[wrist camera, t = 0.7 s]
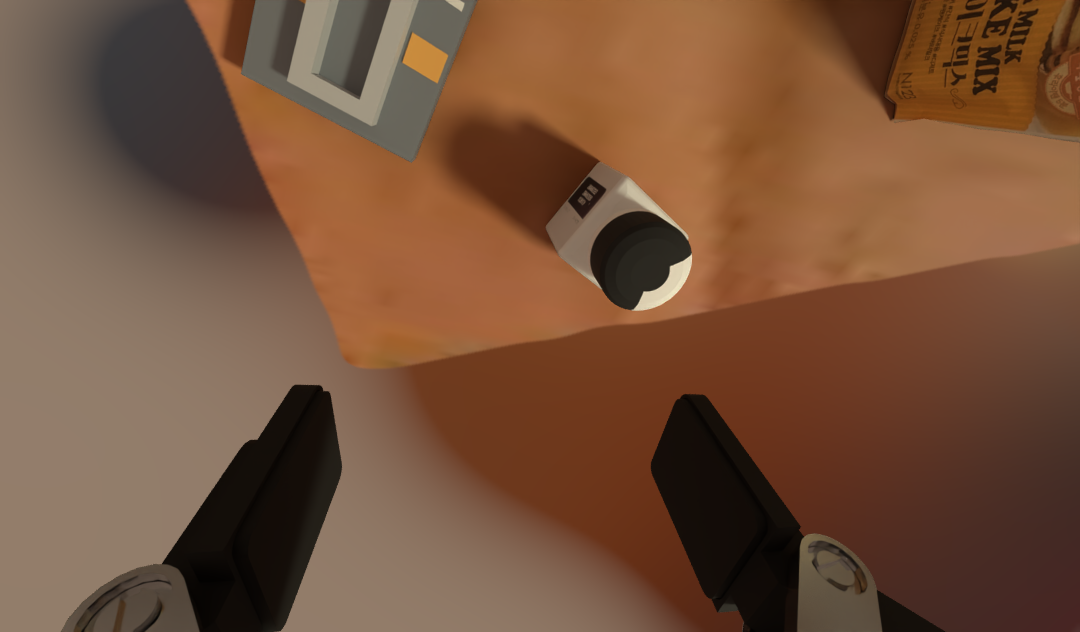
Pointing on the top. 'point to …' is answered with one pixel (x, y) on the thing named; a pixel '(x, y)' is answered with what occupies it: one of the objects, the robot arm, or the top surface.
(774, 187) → the top surface
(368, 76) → the console
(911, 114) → the pancake mix bag
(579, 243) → the container
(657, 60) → the top surface
